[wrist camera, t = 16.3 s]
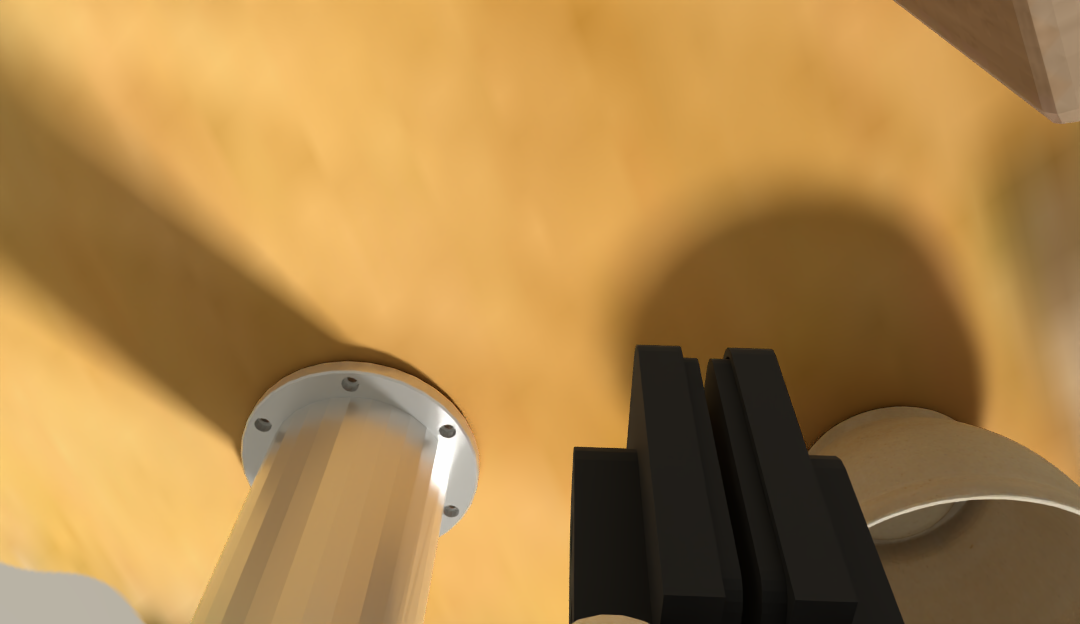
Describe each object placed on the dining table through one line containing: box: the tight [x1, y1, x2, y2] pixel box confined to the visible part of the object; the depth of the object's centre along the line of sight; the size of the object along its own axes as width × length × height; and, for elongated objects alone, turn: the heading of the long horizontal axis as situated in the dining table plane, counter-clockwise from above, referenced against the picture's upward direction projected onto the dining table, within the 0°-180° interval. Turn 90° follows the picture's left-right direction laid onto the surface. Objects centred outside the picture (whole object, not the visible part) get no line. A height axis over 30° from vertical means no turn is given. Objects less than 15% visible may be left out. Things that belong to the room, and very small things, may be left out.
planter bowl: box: [808, 406, 1080, 624], centre depth 45 cm, size 16×16×11 cm
